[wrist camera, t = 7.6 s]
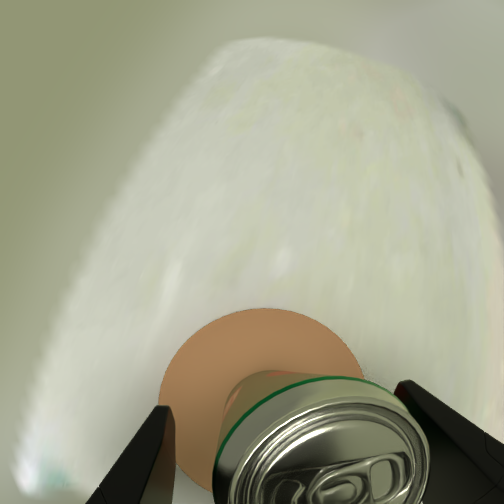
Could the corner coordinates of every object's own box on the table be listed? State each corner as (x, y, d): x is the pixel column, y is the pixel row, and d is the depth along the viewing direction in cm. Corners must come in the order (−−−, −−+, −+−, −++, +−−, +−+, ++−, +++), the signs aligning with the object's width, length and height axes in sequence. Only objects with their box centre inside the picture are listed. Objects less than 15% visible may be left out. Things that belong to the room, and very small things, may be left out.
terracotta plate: (383, 441, 17) (394, 446, 15) (214, 517, 14) (212, 528, 13) (310, 283, 20) (317, 276, 19) (135, 354, 18) (127, 353, 16)
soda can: (215, 378, 16) (182, 406, 5) (305, 361, 17) (430, 345, 6) (233, 461, 15) (237, 598, 3) (321, 442, 15) (446, 528, 4)
